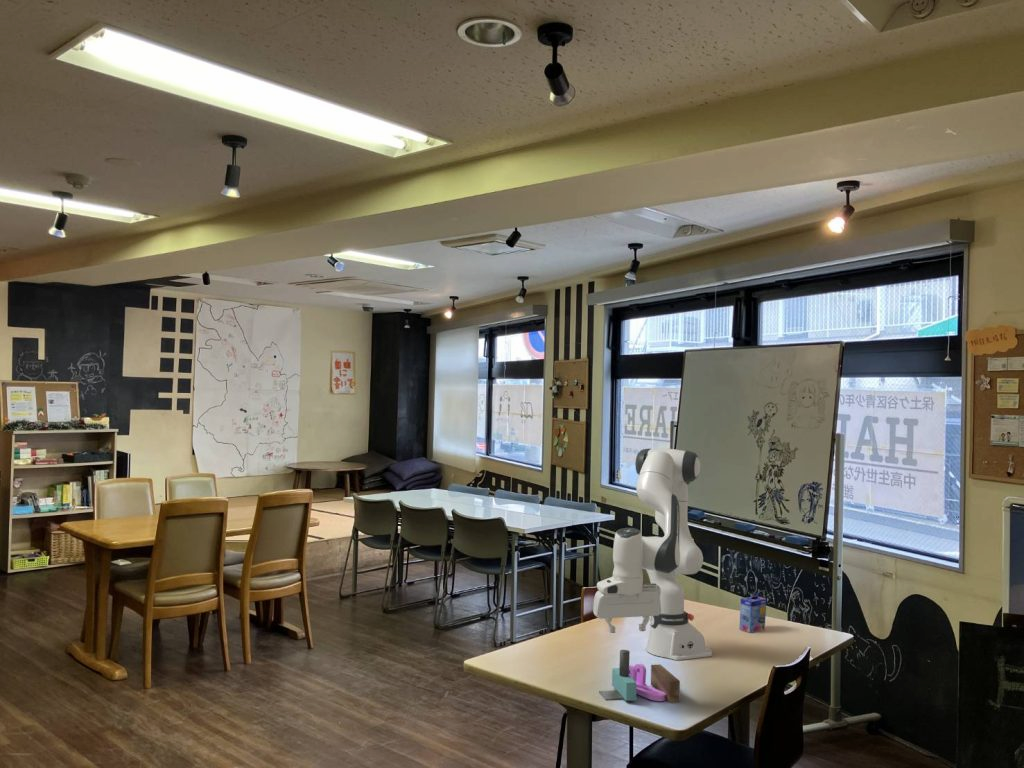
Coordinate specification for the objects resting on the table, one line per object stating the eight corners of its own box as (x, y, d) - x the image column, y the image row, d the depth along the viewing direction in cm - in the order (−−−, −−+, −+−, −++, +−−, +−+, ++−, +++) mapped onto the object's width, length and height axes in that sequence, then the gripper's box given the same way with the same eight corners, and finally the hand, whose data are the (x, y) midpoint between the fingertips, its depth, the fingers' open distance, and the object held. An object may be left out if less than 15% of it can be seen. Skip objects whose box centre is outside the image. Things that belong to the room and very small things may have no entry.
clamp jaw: (621, 684, 225) (622, 644, 226) (636, 700, 214) (637, 657, 214) (611, 685, 225) (612, 644, 225) (626, 700, 213) (627, 658, 213)
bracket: (623, 688, 224) (624, 664, 224) (635, 685, 227) (637, 662, 228) (656, 702, 214) (658, 677, 214) (669, 699, 217) (670, 674, 218)
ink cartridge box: (750, 633, 285) (751, 595, 286) (738, 629, 290) (739, 592, 290) (766, 629, 291) (767, 592, 291) (754, 626, 295) (755, 589, 296)
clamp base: (659, 684, 229) (660, 664, 229) (679, 702, 215) (679, 681, 215) (594, 687, 225) (595, 667, 225) (610, 705, 211) (610, 684, 211)
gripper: (656, 580, 225) (655, 626, 225) (591, 583, 221) (591, 630, 221) (664, 585, 219) (664, 633, 219) (598, 588, 215) (598, 636, 215)
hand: (627, 631), depth 220 cm, fingers open, 8 cm apart
